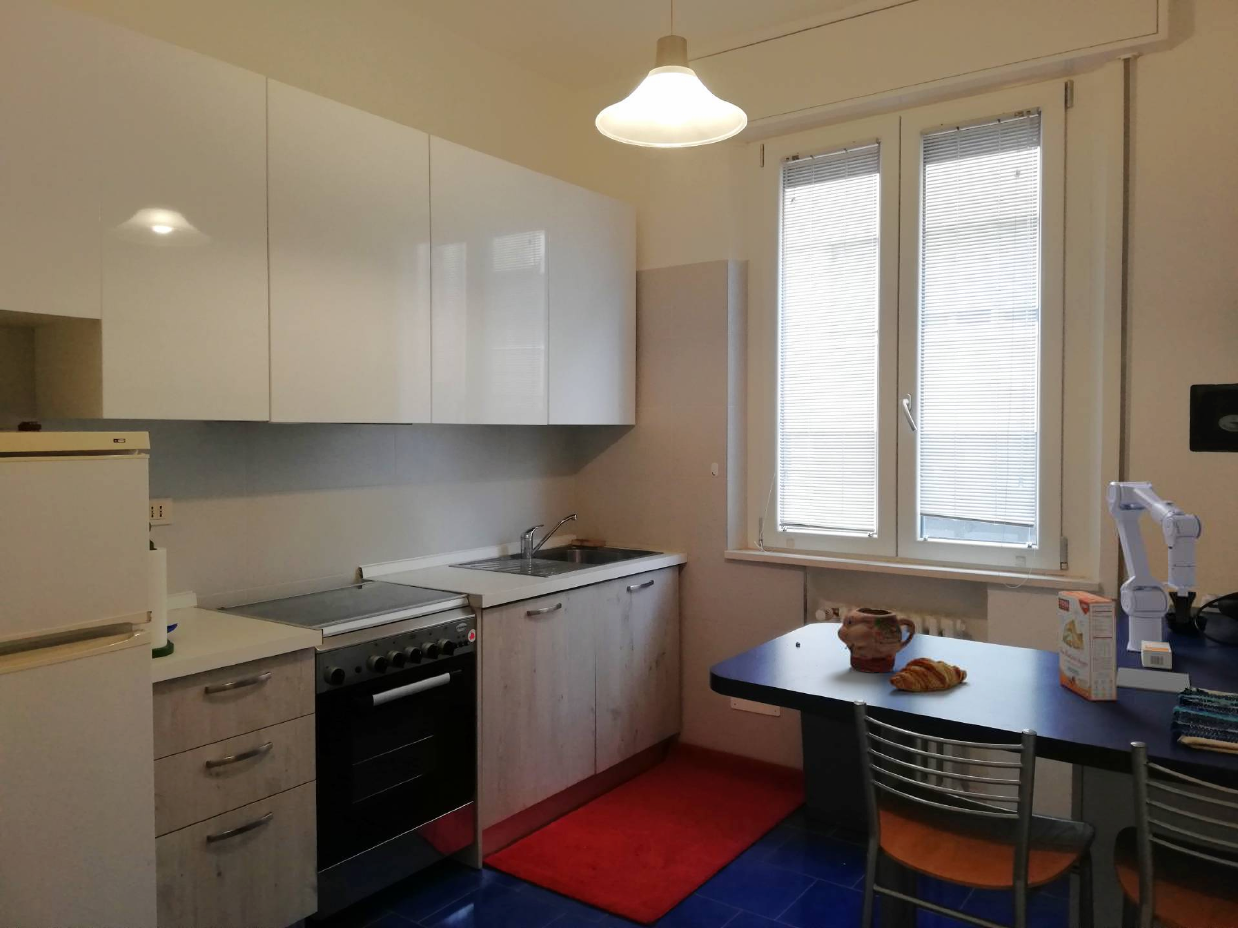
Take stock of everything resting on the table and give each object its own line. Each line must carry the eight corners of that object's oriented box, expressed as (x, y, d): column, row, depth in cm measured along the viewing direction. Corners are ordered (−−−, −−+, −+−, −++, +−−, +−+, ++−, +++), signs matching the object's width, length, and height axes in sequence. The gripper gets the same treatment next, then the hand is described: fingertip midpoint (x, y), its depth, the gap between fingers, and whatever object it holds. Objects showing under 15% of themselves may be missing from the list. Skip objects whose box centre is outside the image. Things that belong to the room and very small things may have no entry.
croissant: (956, 693, 208) (944, 659, 211) (986, 681, 200) (973, 646, 203) (883, 703, 199) (872, 667, 203) (912, 691, 191) (900, 654, 194)
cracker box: (1057, 684, 201) (1056, 590, 201) (1085, 683, 201) (1084, 590, 201) (1088, 701, 187) (1087, 600, 187) (1117, 701, 187) (1117, 600, 187)
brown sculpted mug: (898, 659, 227) (897, 603, 227) (928, 670, 216) (928, 611, 216) (827, 665, 221) (827, 609, 221) (855, 677, 210) (854, 617, 209)
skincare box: (1142, 648, 216) (1140, 639, 226) (1142, 666, 216) (1140, 656, 226) (1172, 651, 213) (1169, 641, 223) (1172, 669, 213) (1169, 659, 224)
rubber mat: (1118, 669, 214) (1118, 667, 214) (1188, 675, 207) (1188, 674, 207) (1114, 686, 199) (1115, 684, 199) (1190, 694, 191) (1190, 692, 191)
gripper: (1162, 561, 225) (1163, 615, 225) (1162, 568, 212) (1162, 625, 212) (1196, 562, 221) (1196, 618, 221) (1198, 569, 209) (1198, 628, 209)
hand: (1182, 622), depth 217 cm, fingers closed
